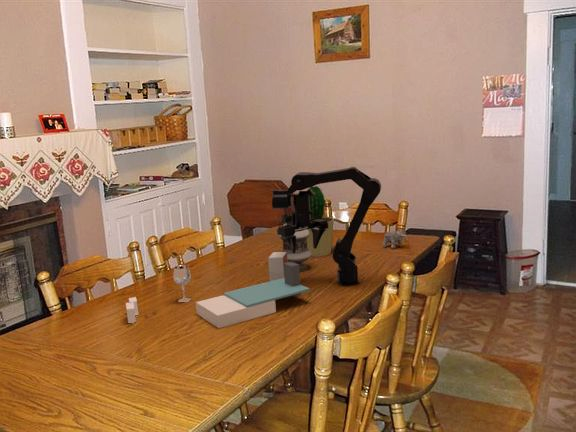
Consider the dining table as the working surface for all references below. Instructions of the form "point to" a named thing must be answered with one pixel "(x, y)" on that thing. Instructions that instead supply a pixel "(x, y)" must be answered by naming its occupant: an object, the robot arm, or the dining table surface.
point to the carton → (231, 311)
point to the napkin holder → (132, 310)
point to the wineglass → (182, 279)
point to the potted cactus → (317, 213)
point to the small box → (277, 265)
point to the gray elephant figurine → (394, 238)
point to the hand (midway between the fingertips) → (304, 250)
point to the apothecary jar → (298, 249)
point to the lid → (271, 288)
